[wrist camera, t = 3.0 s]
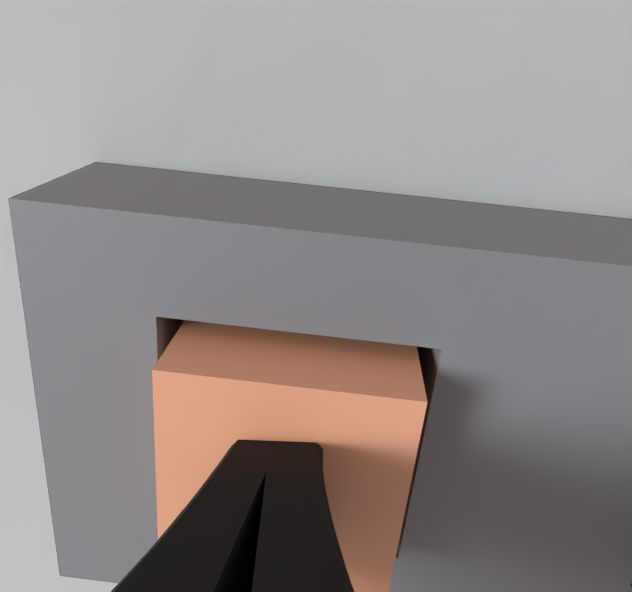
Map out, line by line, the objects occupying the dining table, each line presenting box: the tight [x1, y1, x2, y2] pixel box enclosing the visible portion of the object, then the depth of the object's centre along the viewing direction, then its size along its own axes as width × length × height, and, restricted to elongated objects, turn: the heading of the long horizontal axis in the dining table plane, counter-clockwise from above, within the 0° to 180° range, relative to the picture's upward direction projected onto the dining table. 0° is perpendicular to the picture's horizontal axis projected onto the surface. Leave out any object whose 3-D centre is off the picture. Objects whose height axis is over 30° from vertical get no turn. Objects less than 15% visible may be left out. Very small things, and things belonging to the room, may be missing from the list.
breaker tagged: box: [152, 320, 427, 592], centre depth 10 cm, size 4×4×4 cm
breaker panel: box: [8, 162, 632, 592], centre depth 11 cm, size 18×8×3 cm, turn 85°
